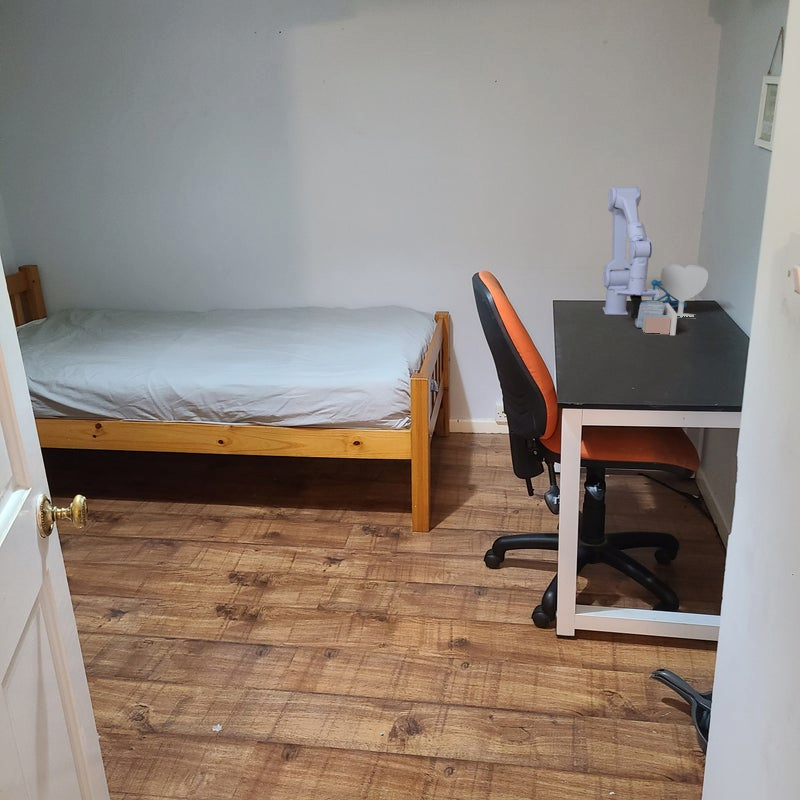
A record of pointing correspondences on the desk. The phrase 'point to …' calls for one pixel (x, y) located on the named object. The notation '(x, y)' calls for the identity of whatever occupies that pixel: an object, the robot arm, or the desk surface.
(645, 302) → the medicine box
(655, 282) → the molecular structure
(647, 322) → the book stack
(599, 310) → the desk surface
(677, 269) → the heart sculpture
